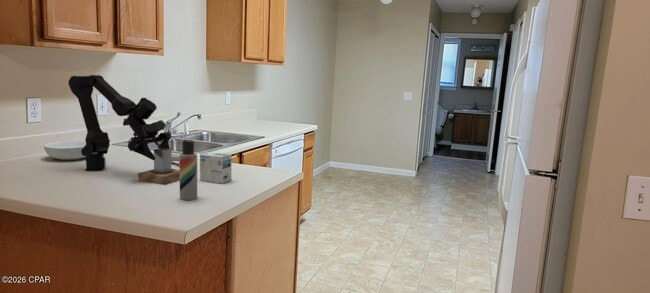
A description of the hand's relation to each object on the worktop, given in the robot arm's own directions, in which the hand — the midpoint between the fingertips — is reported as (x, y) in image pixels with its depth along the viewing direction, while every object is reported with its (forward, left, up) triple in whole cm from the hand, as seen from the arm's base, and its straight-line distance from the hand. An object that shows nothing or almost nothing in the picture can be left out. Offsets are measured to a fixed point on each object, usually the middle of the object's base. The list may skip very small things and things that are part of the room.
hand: (162, 157), depth 171 cm
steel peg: (0, 0, -9) cm, 9 cm away
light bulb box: (+20, -4, -9) cm, 22 cm away
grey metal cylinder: (+3, +30, -9) cm, 32 cm away
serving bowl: (-43, +46, -9) cm, 64 cm away
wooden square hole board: (0, 0, -9) cm, 9 cm away
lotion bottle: (+10, -28, -9) cm, 31 cm away
